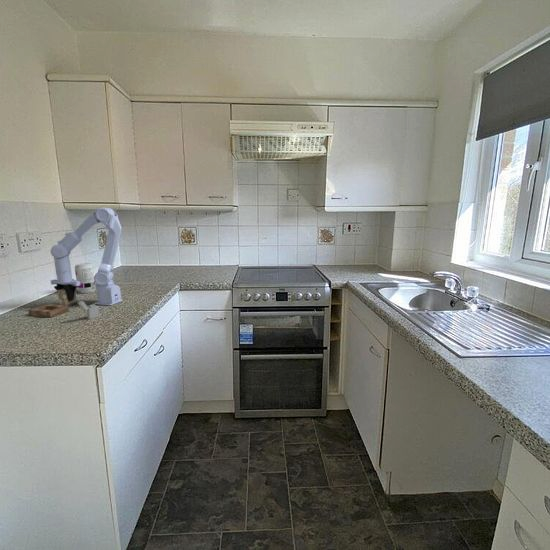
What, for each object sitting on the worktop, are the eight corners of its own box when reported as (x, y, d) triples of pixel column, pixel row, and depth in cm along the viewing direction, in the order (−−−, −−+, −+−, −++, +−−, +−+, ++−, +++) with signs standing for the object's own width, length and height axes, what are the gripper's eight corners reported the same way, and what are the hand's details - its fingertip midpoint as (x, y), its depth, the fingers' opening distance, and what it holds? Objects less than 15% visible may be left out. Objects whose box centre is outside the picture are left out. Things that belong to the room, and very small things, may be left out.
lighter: (96, 315, 128) (94, 296, 126) (99, 316, 127) (97, 297, 126) (80, 320, 122) (77, 301, 120) (83, 321, 121) (80, 302, 119)
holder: (69, 311, 133) (68, 305, 133) (50, 317, 125) (49, 312, 125) (48, 309, 136) (47, 304, 136) (29, 315, 128) (28, 309, 128)
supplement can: (75, 294, 161) (71, 265, 158) (81, 290, 168) (77, 263, 165) (93, 293, 163) (89, 265, 160) (97, 289, 171) (94, 262, 167)
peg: (76, 303, 144) (74, 287, 143) (65, 307, 139) (62, 290, 137) (71, 303, 145) (69, 286, 143) (60, 307, 139) (57, 289, 138)
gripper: (84, 270, 140) (88, 298, 143) (59, 268, 144) (63, 296, 147) (70, 273, 134) (74, 303, 137) (44, 271, 137) (49, 301, 140)
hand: (67, 300), depth 141 cm, fingers closed on peg, 3 cm apart
